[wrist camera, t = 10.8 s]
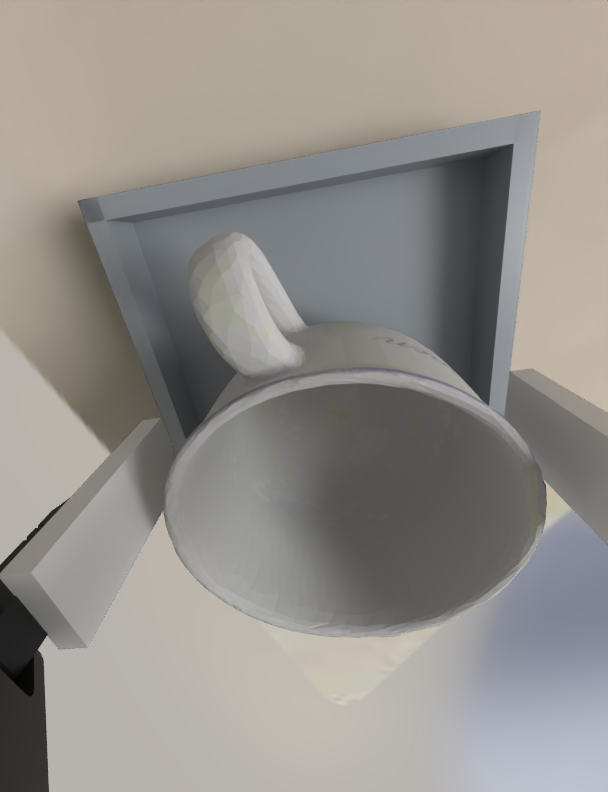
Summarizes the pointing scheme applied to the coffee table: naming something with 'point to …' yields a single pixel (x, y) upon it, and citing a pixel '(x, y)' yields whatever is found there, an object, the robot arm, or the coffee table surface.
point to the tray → (336, 252)
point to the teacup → (342, 469)
